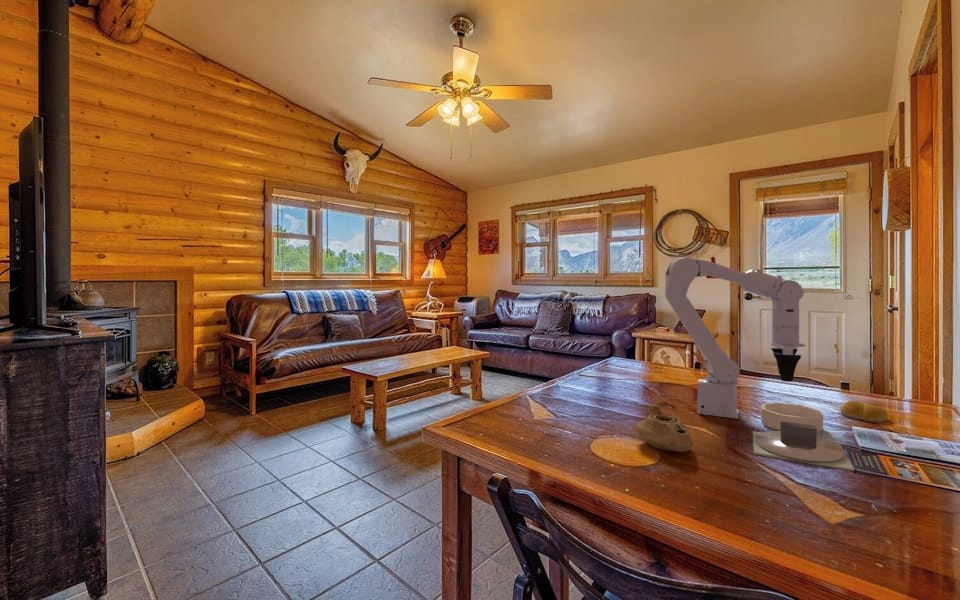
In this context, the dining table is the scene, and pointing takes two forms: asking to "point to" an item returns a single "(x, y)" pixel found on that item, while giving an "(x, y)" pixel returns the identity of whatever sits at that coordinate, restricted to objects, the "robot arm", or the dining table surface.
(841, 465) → the mat
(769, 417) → the bowl
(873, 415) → the bread roll
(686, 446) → the oil lamp
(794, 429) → the lid
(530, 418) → the dining table surface
